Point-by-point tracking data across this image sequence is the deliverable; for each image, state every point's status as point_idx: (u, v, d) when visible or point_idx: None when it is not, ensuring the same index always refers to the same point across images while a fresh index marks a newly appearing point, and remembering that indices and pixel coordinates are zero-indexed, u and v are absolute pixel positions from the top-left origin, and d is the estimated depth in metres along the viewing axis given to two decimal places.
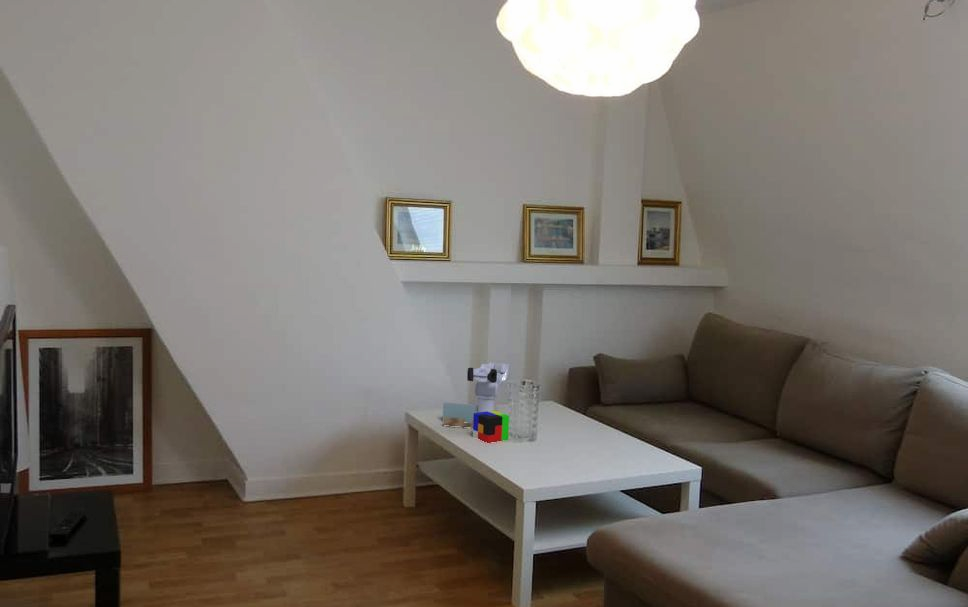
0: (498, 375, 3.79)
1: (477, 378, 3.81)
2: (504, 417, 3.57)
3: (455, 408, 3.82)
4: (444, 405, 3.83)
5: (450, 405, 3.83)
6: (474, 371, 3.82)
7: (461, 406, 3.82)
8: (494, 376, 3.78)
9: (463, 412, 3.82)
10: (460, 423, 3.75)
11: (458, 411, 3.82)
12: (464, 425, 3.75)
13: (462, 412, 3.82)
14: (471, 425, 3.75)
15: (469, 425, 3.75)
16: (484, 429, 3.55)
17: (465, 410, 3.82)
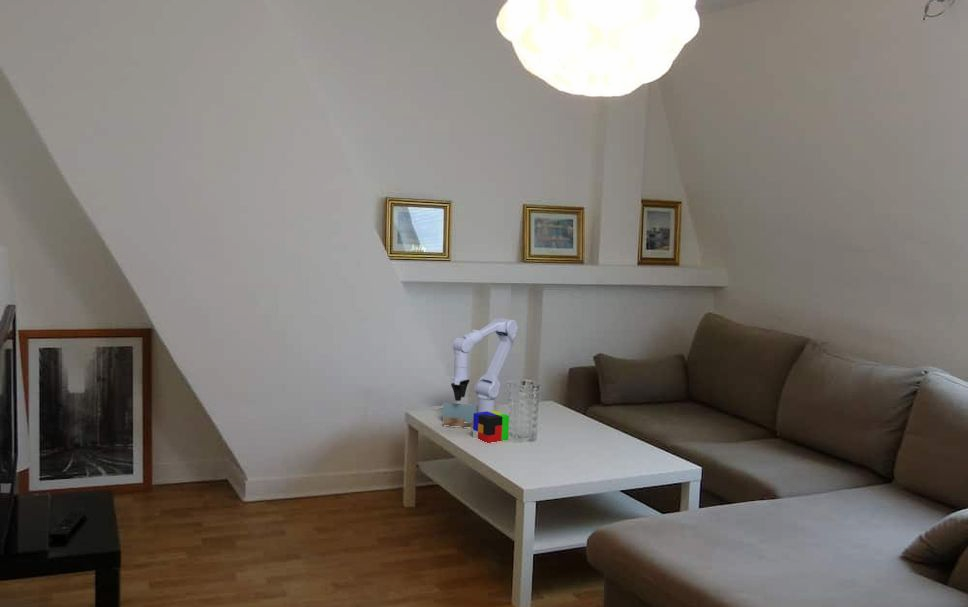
0: None
1: None
2: (504, 417, 3.57)
3: (455, 408, 3.82)
4: (444, 405, 3.83)
5: (450, 405, 3.83)
6: None
7: (461, 406, 3.82)
8: None
9: (463, 412, 3.82)
10: (460, 423, 3.75)
11: (458, 411, 3.82)
12: (464, 425, 3.75)
13: (462, 412, 3.82)
14: (471, 425, 3.75)
15: (469, 425, 3.75)
16: (484, 429, 3.55)
17: (465, 410, 3.82)
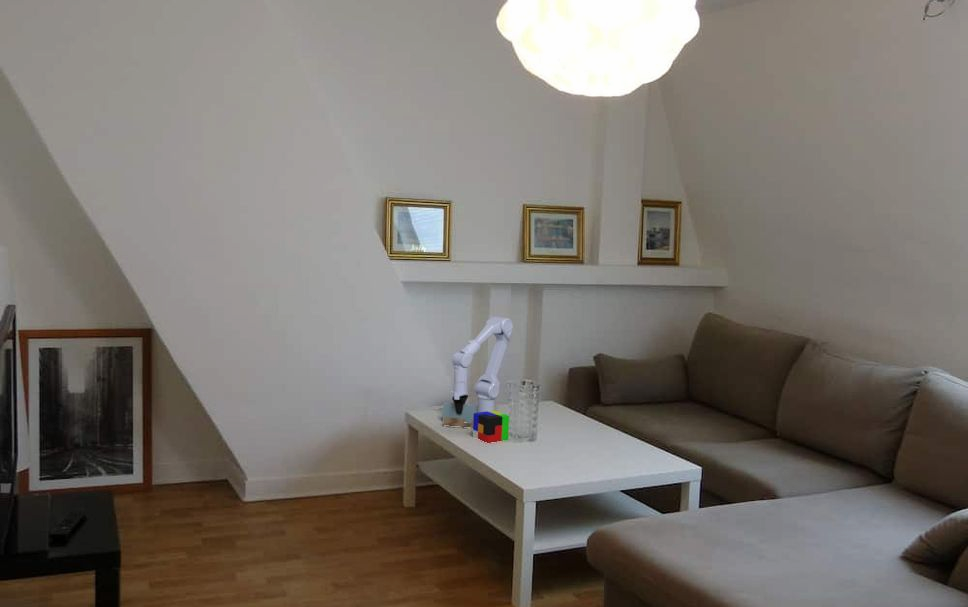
0: None
1: None
2: (504, 417, 3.57)
3: (455, 408, 3.82)
4: (444, 405, 3.83)
5: (450, 405, 3.83)
6: None
7: None
8: None
9: (463, 412, 3.82)
10: (460, 423, 3.75)
11: None
12: (464, 425, 3.75)
13: (462, 412, 3.82)
14: (471, 425, 3.75)
15: (469, 425, 3.75)
16: (484, 429, 3.55)
17: (465, 410, 3.82)
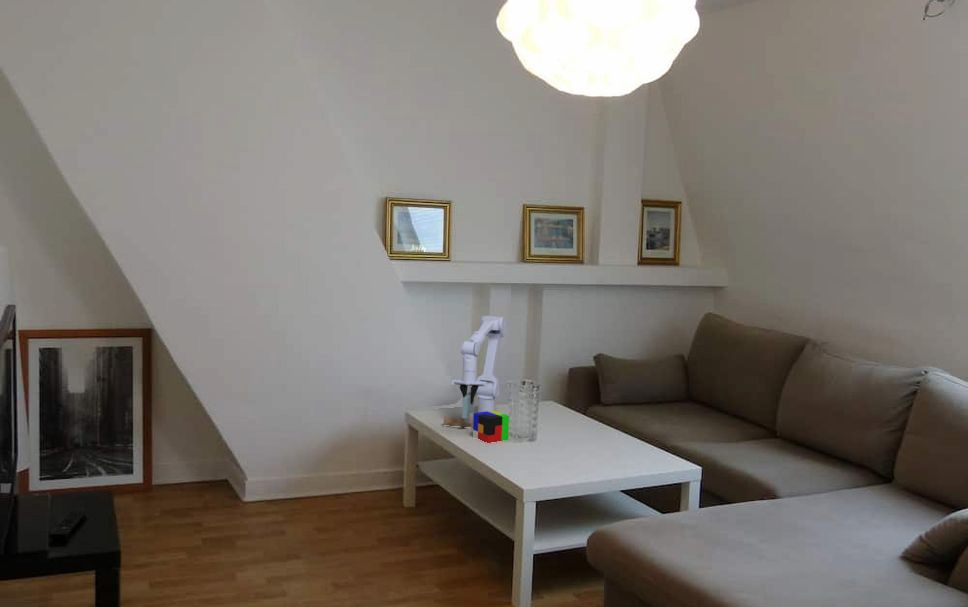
0: None
1: None
2: (504, 417, 3.57)
3: (469, 399, 3.72)
4: (467, 400, 3.68)
5: (469, 398, 3.70)
6: None
7: None
8: None
9: None
10: (460, 423, 3.75)
11: (470, 402, 3.74)
12: (464, 425, 3.75)
13: None
14: (471, 425, 3.75)
15: (469, 425, 3.75)
16: (484, 429, 3.55)
17: None
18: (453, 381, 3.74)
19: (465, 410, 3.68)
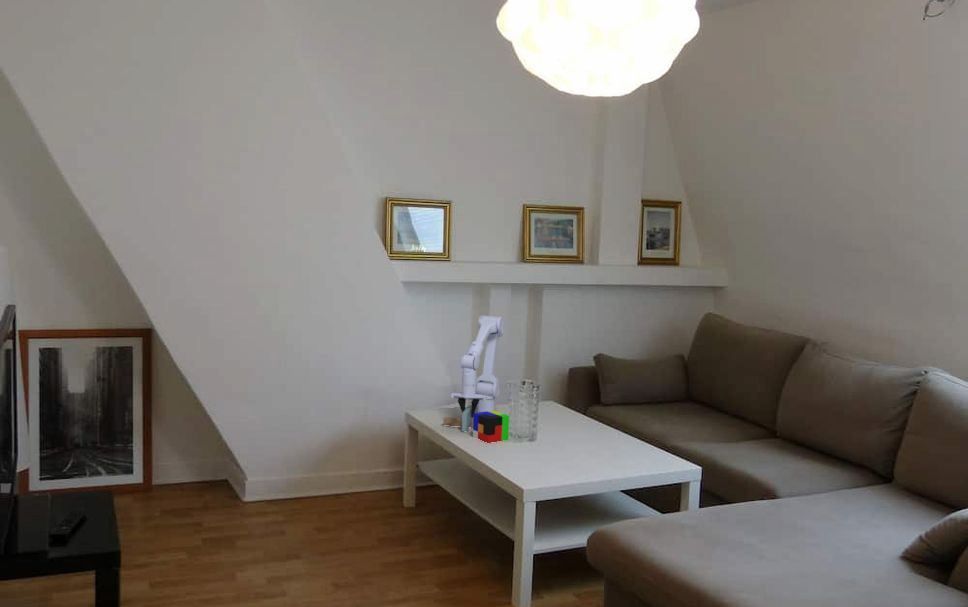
0: None
1: None
2: (504, 417, 3.57)
3: (469, 413, 3.73)
4: (467, 414, 3.68)
5: (468, 412, 3.71)
6: None
7: (471, 410, 3.75)
8: None
9: None
10: (460, 423, 3.75)
11: (470, 416, 3.75)
12: None
13: None
14: (471, 425, 3.75)
15: (469, 425, 3.75)
16: (484, 429, 3.55)
17: None
18: (453, 395, 3.75)
19: (465, 424, 3.68)
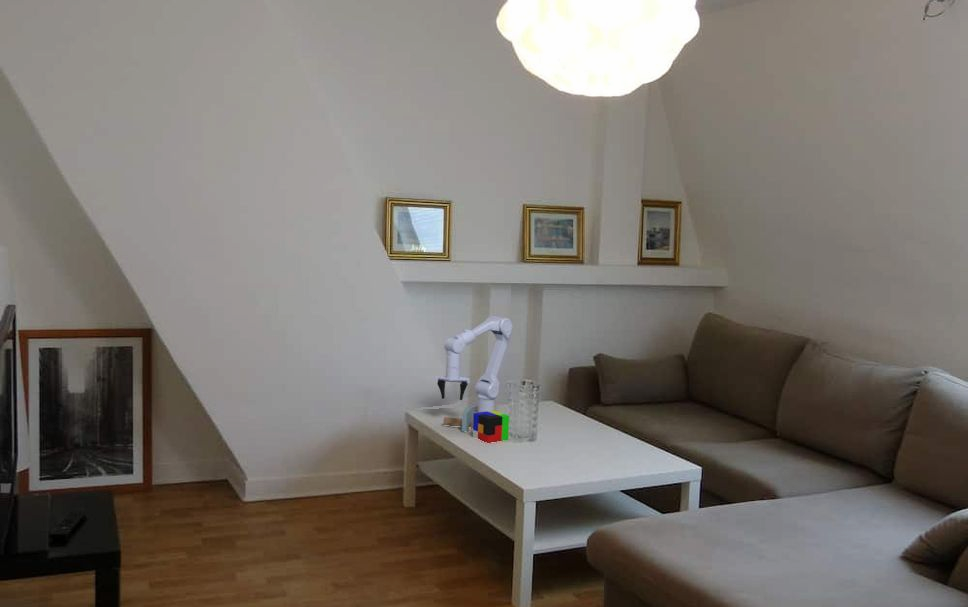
0: None
1: None
2: (504, 417, 3.57)
3: (469, 413, 3.73)
4: (467, 414, 3.68)
5: (468, 412, 3.71)
6: None
7: (471, 410, 3.75)
8: None
9: (471, 415, 3.77)
10: (460, 423, 3.75)
11: (470, 416, 3.75)
12: None
13: (471, 416, 3.76)
14: (471, 425, 3.75)
15: (469, 425, 3.75)
16: (484, 429, 3.55)
17: (471, 413, 3.77)
18: (437, 377, 3.80)
19: (465, 424, 3.68)
